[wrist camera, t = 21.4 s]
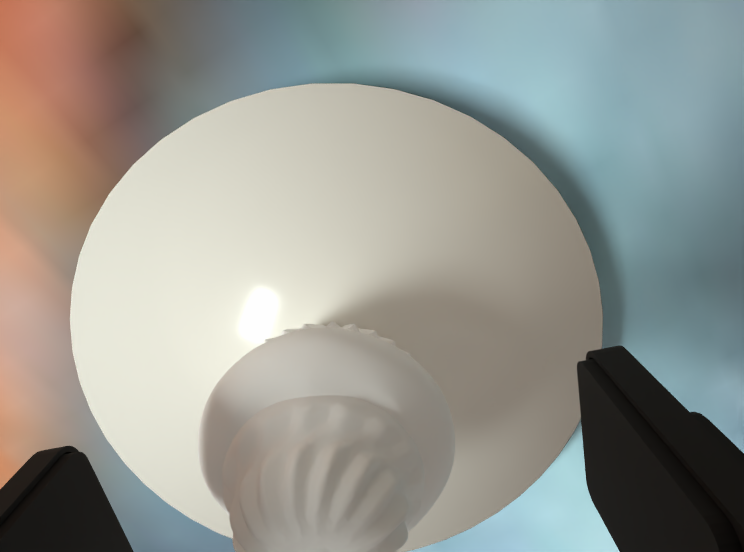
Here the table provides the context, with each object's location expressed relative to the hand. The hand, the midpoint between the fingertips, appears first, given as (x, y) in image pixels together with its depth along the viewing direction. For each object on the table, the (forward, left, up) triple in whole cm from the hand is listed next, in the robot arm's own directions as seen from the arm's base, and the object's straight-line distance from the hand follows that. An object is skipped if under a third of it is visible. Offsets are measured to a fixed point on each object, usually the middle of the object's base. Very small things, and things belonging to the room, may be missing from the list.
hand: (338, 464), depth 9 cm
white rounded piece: (-1, +1, -6) cm, 6 cm away
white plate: (-1, 0, -7) cm, 7 cm away
